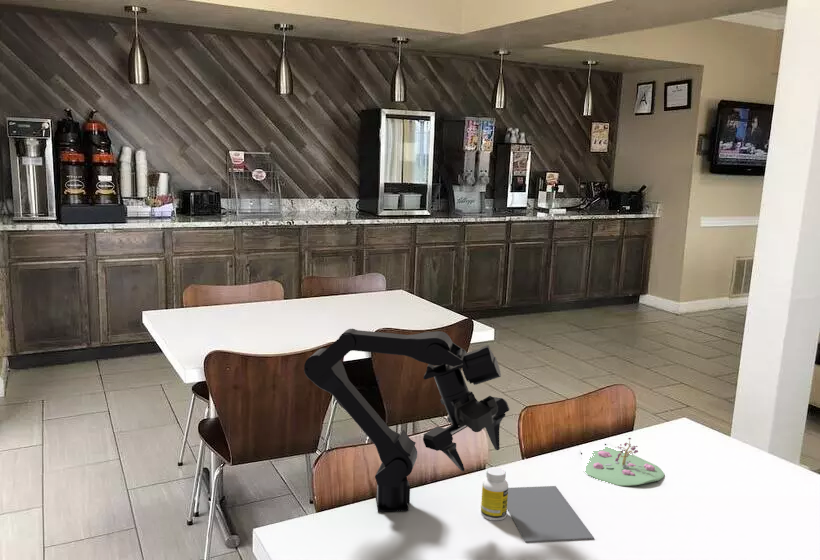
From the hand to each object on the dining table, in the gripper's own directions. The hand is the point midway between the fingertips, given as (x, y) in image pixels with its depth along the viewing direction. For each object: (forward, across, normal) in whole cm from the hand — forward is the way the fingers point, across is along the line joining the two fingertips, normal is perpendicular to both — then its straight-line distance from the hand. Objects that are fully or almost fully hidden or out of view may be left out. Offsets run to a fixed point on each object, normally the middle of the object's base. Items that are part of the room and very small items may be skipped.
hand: (480, 460), depth 137 cm
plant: (+24, +39, +10) cm, 47 cm away
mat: (+16, +8, -2) cm, 18 cm away
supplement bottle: (+13, -1, +2) cm, 13 cm away
